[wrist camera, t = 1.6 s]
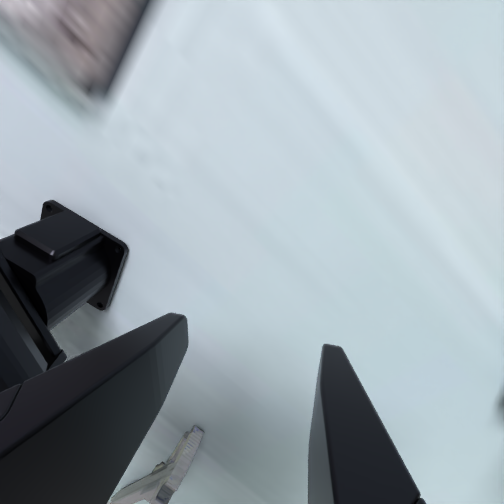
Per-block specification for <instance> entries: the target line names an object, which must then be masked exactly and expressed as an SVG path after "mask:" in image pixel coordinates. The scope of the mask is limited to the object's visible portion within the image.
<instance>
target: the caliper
mask: <svg viewBox="0 0 504 504" xmlns="http://www.w3.org/2000/svg"><path fill="white" fill-rule="evenodd" d="M203 434H204V432H203V431H202V430H200V429H199V428H198V427H196V426H195V425H194V426H193V428H192V430H191V432H190V433H189V432H186V433H185V434H184V435H183V437H182V439H181V440H180V442H179V443H178V445H177V446H176V448H175V450H174V451H173V453H172V454H171V456H170V458H169V459H168V461H167V462H166V463H163V462H161V463H160V464H157V465H156V467H155V469H154V470H153V472H152V474H150V475H148V476H146V477H144V478H142V479H140V480H139V481H137V482H135V483H133V484H131V485H129V486H127V487H125V488H123V489H121V490H120V491H119V492H118V493H117V494H116V495H115V496H114V497H112V498H111V503H110V504H133V503H135V502H138V501H141V500H143V499H145V500H147V501H148V502H149V501H150V502H149V503H150V504H168V502H169V500H170V498H171V496H172V494H173V493H174V492H175V491H177V489H178V487H179V485H180V483H181V481H182V479H183V478H184V476H185V474H186V472H187V470H188V468H189V466H190V464H191V462H192V460H193V457H194V455H195V453H196V450H197V448H198V446H199V444H200V441H201V439H202V437H203Z"/></svg>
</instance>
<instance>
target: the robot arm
mask: <svg viewBox="0 0 504 504" xmlns="http://www.w3.org/2000/svg"><path fill="white" fill-rule="evenodd" d="M51 207H52V208H51ZM118 247H120V248H121V250H120V249H119V248H118ZM127 252H128V247H127V245H126V244H125V243H124V242H123V241H121V240H119V239H118V238H116V237H114V236H113V235H111V234H109V233H108V232H106V231H104V230H103V229H101V228H99V227H98V226H96V225H94V224H93V223H91V222H89V221H88V220H86V219H84V218H83V217H81V216H79V215H78V214H76V213H74V212H73V211H71V210H69V209H68V208H66V207H64V206H63V205H61V204H59V203H58V202H56V201H54V200H49V201H46V202H44V204H43V208H42V213H41V219H40V221H37V222H35V223H32V224H30V225H27V226H25V227H22V228H20V229H17V230H15V234H13V235H10V236H8V237H5V238H3V239H0V504H107V502H108V500H109V499H110V497H111V495H112V493H113V492H114V490H115V488H116V486H117V485H118V483H119V481H120V479H121V478H122V476H123V474H124V472H125V471H126V469H127V467H128V465H129V464H130V462H131V460H132V458H133V457H134V455H135V453H136V451H137V450H138V448H139V446H140V444H141V443H142V441H143V439H144V437H145V436H146V434H147V432H148V430H149V429H150V427H151V425H152V423H153V422H154V420H155V418H156V416H157V415H158V413H159V411H160V409H161V407H162V405H163V403H164V401H165V399H166V397H167V394H168V392H169V390H170V387H171V385H172V383H173V381H174V378H175V376H176V374H177V371H178V369H179V367H180V365H181V362H182V360H183V358H184V356H185V353H186V351H187V348H188V325H187V318H186V316H184V315H181V314H176V313H168V314H166V315H164V316H162V317H159V318H157V319H155V320H153V321H151V322H149V323H147V324H145V325H143V326H140V327H138V328H136V329H134V330H132V331H130V332H128V333H126V334H124V335H121V336H119V337H117V338H115V339H113V340H111V341H109V342H107V343H104V344H102V345H100V346H98V347H96V348H94V349H92V350H90V351H88V352H85V353H83V354H81V355H79V356H77V357H75V358H73V359H71V360H69V361H66V362H64V361H65V360H66V358H67V356H66V354H65V353H64V351H63V350H62V349H60V348H59V346H58V344H57V343H56V341H55V339H54V338H53V336H52V334H51V333H50V330H51V329H52V328H53V327H55V326H56V325H57V324H59V323H60V322H61V321H63V320H64V319H65V318H66V317H68V316H69V315H70V314H72V313H73V312H74V311H75V310H77V309H78V308H79V307H81V306H82V305H83V304H84V303H86V302H87V303H89V304H90V305H92V306H94V307H95V308H97V309H99V310H105V309H106V308H107V307H108V306H109V304H110V301H111V298H112V295H113V292H114V289H115V287H116V284H117V281H118V278H119V275H120V272H121V269H122V266H123V263H124V260H125V258H126V255H127ZM63 362H64V363H63ZM420 496H421V494H420V492H419V490H418V488H417V486H416V484H415V482H414V481H413V479H412V477H411V475H410V473H409V471H408V469H407V468H406V466H405V464H404V462H403V460H402V458H401V456H400V455H399V453H398V451H397V449H396V447H395V445H394V443H393V442H392V440H391V438H390V436H389V434H388V432H387V430H386V429H385V427H384V425H383V423H382V421H381V419H380V417H379V416H378V414H377V412H376V410H375V408H374V406H373V404H372V403H371V401H370V399H369V397H368V395H367V393H366V391H365V390H364V388H363V386H362V384H361V382H360V380H359V378H358V377H357V375H356V373H355V371H354V369H353V367H352V365H351V364H350V362H349V360H348V358H347V356H346V354H345V352H344V351H343V349H342V348H341V347H339V346H335V345H330V344H324V345H323V346H322V352H321V358H320V364H319V370H318V377H317V384H316V392H315V399H314V407H313V415H312V422H311V430H310V439H309V454H308V504H426V502H425V501H424V499H423V498H420Z"/></svg>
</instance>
